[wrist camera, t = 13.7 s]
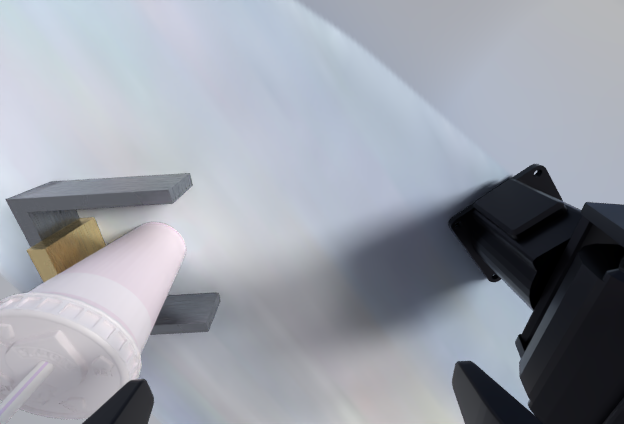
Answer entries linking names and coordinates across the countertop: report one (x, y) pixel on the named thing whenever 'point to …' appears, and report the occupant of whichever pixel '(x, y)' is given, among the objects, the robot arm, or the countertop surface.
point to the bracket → (87, 238)
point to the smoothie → (86, 326)
